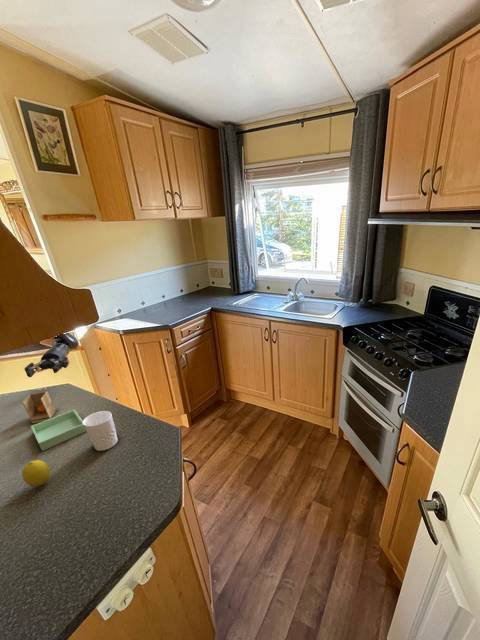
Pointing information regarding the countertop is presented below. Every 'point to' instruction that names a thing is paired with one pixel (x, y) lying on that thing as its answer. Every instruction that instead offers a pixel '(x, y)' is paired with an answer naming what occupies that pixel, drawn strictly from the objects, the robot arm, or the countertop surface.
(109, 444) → the white cup
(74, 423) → the tray
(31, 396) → the open wooden box
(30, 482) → the lemon
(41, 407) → the ball
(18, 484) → the countertop surface
